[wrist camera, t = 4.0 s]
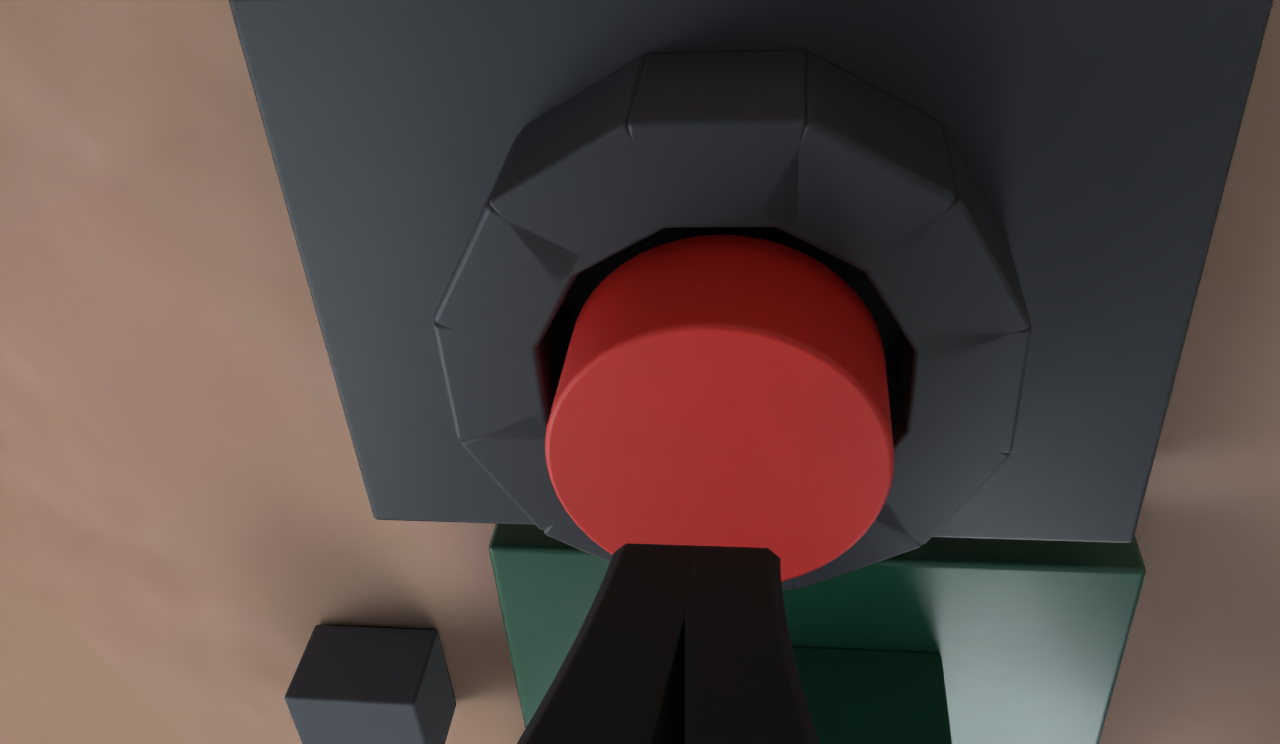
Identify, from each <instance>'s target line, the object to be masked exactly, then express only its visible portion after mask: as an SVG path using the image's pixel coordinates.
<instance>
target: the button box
mask: <svg viewBox="0 0 1280 744" xmlns="http://www.w3.org/2000/svg"><path fill="white" fill-rule="evenodd" d="M1272 2H1273V0H229V3H230V7H231V10H232V14H233V18H234V21H235V25H236V28H237V32H238V35H239V39H240V42H241V46H242V50H243V53H244V57H245V60H246V64H247V67H248V71H249V74H250V78H251V82H252V85H253V89H254V92H255V96H256V99H257V103H258V107H259V110H260V114H261V117H262V121H263V124H264V128H265V131H266V135H267V139H268V142H269V146H270V149H271V153H272V156H273V160H274V163H275V167H276V171H277V174H278V178H279V181H280V185H281V188H282V192H283V195H284V199H285V203H286V206H287V210H288V213H289V217H290V220H291V224H292V228H293V231H294V235H295V238H296V242H297V245H298V249H299V252H300V256H301V260H302V263H303V267H304V270H305V274H306V277H307V281H308V284H309V288H310V292H311V295H312V299H313V302H314V306H315V309H316V313H317V316H318V320H319V324H320V327H321V331H322V334H323V338H324V341H325V345H326V349H327V352H328V356H329V359H330V363H331V366H332V370H333V373H334V377H335V381H336V384H337V388H338V391H339V395H340V398H341V402H342V405H343V409H344V413H345V416H346V420H347V423H348V427H349V430H350V434H351V437H352V441H353V445H354V448H355V452H356V455H357V459H358V462H359V466H360V470H361V473H362V477H363V480H364V484H365V487H366V491H367V494H368V498H369V502H370V505H371V509H372V512H373V516H374V518H375V519H378V520H405V521H437V522H469V523H501V524H533V525H536V526H537V527H538V528H539V529H541V530H544V534H546V535H547V536H549V537H551V538H554V539H556V540H558V541H561V542H563V543H565V544H568V545H570V546H572V547H575V548H577V549H579V550H582V551H584V552H587V553H589V554H591V555H594V556H596V557H598V558H601V559H603V560H605V561H608V562H610V561H611V559H612V556H613V555H612V554H610V553H609V552H607V551H606V550H604V549H603V548H602V547H600V546H599V545H598V544H597V543H595V542H594V541H593V540H591V539H590V538H589V537H588V536H587V535H586V534H585V533H584V532H583V531H582V530H581V529H580V528H579V527H578V526H577V525H576V523H575V522H574V521H573V519H572V518H571V517H570V516H569V514H568V513H567V512H566V510H565V509H564V507H563V505H562V504H561V502H560V500H559V498H558V497H557V494H556V492H555V490H554V487H553V485H552V482H551V480H550V476H549V472H548V468H547V464H546V456H545V436H546V427H547V423H548V420H549V416H550V413H551V409H552V405H553V402H554V398H555V395H556V391H557V387H558V384H559V380H560V377H561V373H562V370H563V366H564V362H565V359H566V355H567V352H568V348H569V345H570V341H571V337H572V334H573V330H574V327H575V323H576V320H577V318H578V316H579V314H580V312H581V310H582V307H583V305H584V304H585V302H586V301H587V299H588V298H589V297H590V295H591V294H592V292H593V291H594V290H595V288H596V287H597V286H598V285H599V284H600V283H601V282H602V281H603V280H604V279H605V278H606V277H607V276H608V275H609V274H610V273H612V272H613V271H614V270H615V269H617V268H618V267H619V266H620V265H622V264H623V263H625V262H627V261H628V260H630V259H632V258H633V257H635V256H637V255H638V254H640V253H642V252H645V251H647V250H649V249H651V248H654V247H656V246H658V245H661V244H665V243H668V242H671V241H675V240H678V239H683V238H689V237H695V236H702V235H719V234H724V235H742V236H749V237H755V238H761V239H766V240H769V241H773V242H776V243H780V244H783V245H786V246H789V247H791V248H793V249H796V250H798V251H800V252H803V253H805V254H807V255H809V256H811V257H812V258H814V259H816V260H817V261H819V262H821V263H823V264H824V265H826V266H827V267H828V268H830V269H831V270H832V271H833V272H835V273H836V274H837V275H839V276H840V277H841V278H842V279H843V280H844V281H845V282H846V283H847V284H848V285H849V286H850V287H851V288H852V289H853V290H854V291H855V292H856V293H857V294H858V296H859V297H860V298H861V300H862V301H863V302H864V304H865V305H866V306H867V308H868V310H869V311H870V313H871V315H872V317H873V319H874V321H875V323H876V325H877V328H878V331H879V333H880V336H881V339H882V344H883V349H884V355H885V363H886V374H887V384H888V395H889V405H890V416H891V426H892V436H893V447H894V472H893V478H892V484H891V488H890V491H889V494H888V496H887V499H886V502H885V504H884V506H883V508H882V510H881V511H880V513H879V515H878V517H877V518H876V520H875V522H874V523H873V524H872V526H871V527H870V528H869V529H868V531H867V532H866V533H865V534H864V536H863V537H861V538H860V539H859V540H858V541H857V542H856V543H855V544H854V545H853V546H852V547H851V548H850V549H848V550H847V551H846V552H844V553H843V554H842V555H840V556H839V557H837V558H836V559H834V560H833V561H831V562H829V563H827V564H825V565H824V566H822V567H820V568H818V569H816V570H813V571H811V572H809V573H806V574H804V575H801V576H798V577H795V578H792V579H788V580H785V581H782V582H781V583H782V590H794V589H796V588H797V589H804V588H806V587H809V586H812V585H815V584H818V583H821V582H823V581H826V580H829V579H832V578H835V577H838V576H840V575H843V574H846V573H849V572H852V571H854V570H857V569H860V568H863V567H866V566H869V565H871V564H874V563H877V562H880V561H883V560H886V559H888V558H891V557H894V556H897V555H900V554H902V553H905V552H908V551H911V550H914V549H917V548H919V547H920V546H921V545H924V544H925V543H926V542H927V541H928V540H929V539H930V538H931V537H951V538H983V539H1015V540H1047V541H1079V542H1111V543H1130V542H1132V541H1133V538H1134V534H1135V530H1136V526H1137V522H1138V519H1139V515H1140V511H1141V507H1142V503H1143V499H1144V495H1145V492H1146V488H1147V484H1148V480H1149V476H1150V472H1151V468H1152V465H1153V461H1154V457H1155V453H1156V449H1157V445H1158V442H1159V438H1160V434H1161V430H1162V426H1163V422H1164V418H1165V415H1166V411H1167V407H1168V403H1169V399H1170V395H1171V391H1172V388H1173V384H1174V380H1175V376H1176V372H1177V368H1178V364H1179V361H1180V357H1181V353H1182V349H1183V345H1184V341H1185V338H1186V334H1187V330H1188V326H1189V322H1190V318H1191V314H1192V311H1193V307H1194V303H1195V299H1196V295H1197V291H1198V287H1199V284H1200V280H1201V276H1202V272H1203V268H1204V264H1205V260H1206V257H1207V253H1208V249H1209V245H1210V241H1211V237H1212V234H1213V230H1214V226H1215V222H1216V218H1217V214H1218V210H1219V207H1220V203H1221V199H1222V195H1223V191H1224V187H1225V183H1226V180H1227V176H1228V172H1229V168H1230V164H1231V160H1232V156H1233V153H1234V149H1235V145H1236V141H1237V137H1238V133H1239V130H1240V126H1241V122H1242V118H1243V114H1244V110H1245V106H1246V103H1247V99H1248V95H1249V91H1250V87H1251V83H1252V79H1253V76H1254V72H1255V68H1256V64H1257V60H1258V56H1259V52H1260V49H1261V45H1262V41H1263V37H1264V33H1265V29H1266V26H1267V22H1268V18H1269V14H1270V10H1271V6H1272Z"/></svg>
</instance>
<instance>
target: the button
mask: <svg viewBox="0 0 1280 744" xmlns="http://www.w3.org/2000/svg"><path fill="white" fill-rule="evenodd" d="M545 456H546V464H547V468H548V472H549V476H550V480H551V482H552V485H553V487H554V490H555V492H556V494H557V497H558V498H559V500H560V502H561V504H562V505H563V507H564V509H565V510H566V512H567V513H568V514H569V516H570V517H571V518H572V519H573V521H574V522H575V523H576V525H577V526H578V527H579V528H580V529H581V530H582V531H583V532H584V533H585V534H586V535H587V536H588V537H589V538H590V539H591V540H593V541H594V542H595V543H597V544H598V545H599V546H600V547H602V548H603V549H604V550H606V551H607V552H609V553H610V554H612V555H613V553H614V552H615V551H616V550H618V549H619V548H620V547H622V546H623V545H624V544H626V543H632V544H662V545H693V546H724V547H755V548H768V549H770V550H771V551H772V552H773V553H774V554H776V555H777V556H778V557H779V558H781V582H782V581H785V580H788V579H792V578H795V577H798V576H801V575H804V574H806V573H809V572H811V571H813V570H816V569H818V568H820V567H822V566H824V565H825V564H827V563H829V562H831V561H833V560H834V559H836V558H837V557H839V556H840V555H842V554H843V553H844V552H846V551H847V550H848V549H850V548H851V547H852V546H853V545H854V544H855V543H856V542H857V541H858V540H859V539H860V538H861V537H863V536H864V534H865V533H866V532H867V531H868V529H869V528H870V527H871V526H872V524H873V523H874V522H875V520H876V518H877V517H878V515H879V513H880V511H881V510H882V508H883V506H884V504H885V502H886V499H887V496H888V494H889V491H890V488H891V484H892V478H893V472H894V447H893V436H892V426H891V416H890V405H889V395H888V384H887V374H886V363H885V355H884V349H883V344H882V339H881V336H880V333H879V331H878V328H877V325H876V323H875V321H874V319H873V317H872V315H871V313H870V311H869V310H868V308H867V306H866V305H865V304H864V302H863V301H862V300H861V298H860V297H859V296H858V294H857V293H856V292H855V291H854V290H853V289H852V288H851V287H850V286H849V285H848V284H847V283H846V282H845V281H844V280H843V279H842V278H841V277H840V276H839V275H837V274H836V273H835V272H833V271H832V270H831V269H830V268H828V267H827V266H826V265H824V264H823V263H821V262H819V261H817V260H816V259H814V258H812V257H811V256H809V255H807V254H805V253H803V252H800V251H798V250H796V249H793V248H791V247H789V246H786V245H783V244H780V243H776V242H773V241H769V240H766V239H761V238H755V237H749V236H742V235H724V234H719V235H702V236H695V237H689V238H683V239H678V240H675V241H671V242H668V243H665V244H661V245H658V246H656V247H654V248H651V249H649V250H647V251H645V252H642V253H640V254H638V255H637V256H635V257H633V258H632V259H630V260H628V261H627V262H625V263H623V264H622V265H620V266H619V267H618V268H617V269H615V270H614V271H613V272H612V273H610V274H609V275H608V276H607V277H606V278H605V279H604V280H603V281H602V282H601V283H600V284H599V285H598V286H597V287H596V288H595V290H594V291H593V292H592V294H591V295H590V297H589V298H588V299H587V301H586V302H585V304H584V305H583V307H582V310H581V312H580V314H579V316H578V318H577V320H576V323H575V327H574V330H573V334H572V337H571V341H570V345H569V348H568V352H567V355H566V359H565V362H564V366H563V370H562V373H561V377H560V380H559V384H558V387H557V391H556V395H555V398H554V402H553V405H552V409H551V413H550V416H549V420H548V423H547V427H546V436H545Z"/></svg>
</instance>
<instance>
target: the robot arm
mask: <svg viewBox="0 0 1280 744" xmlns="http://www.w3.org/2000/svg"><path fill="white" fill-rule="evenodd" d="M517 744H820V743H819V740H818V737H817V734H816V731H815V728H814V725H813V722H812V719H811V715H810V712H809V709H808V705H807V702H806V698H805V695H804V691H803V688H802V684H801V680H800V676H799V672H798V668H797V664H796V660H795V656H794V652H793V648H792V643H791V638H790V634H789V629H788V624H787V618H786V612H785V607H784V600H783V591H782V583H781V558H779V557H778V556H777V555H776V554H774V553H773V552H772V551H771V550H770V549H768V548H755V547H724V546H693V545H662V544H632V543H626V544H624V545H623V546H622V547H620V548H619V549H618V550H616V551H615V552H614V553H613V556H612V559H611V561H610V564H609V566H608V569H607V572H606V574H605V576H604V579H603V581H602V583H601V586H600V588H599V590H598V592H597V595H596V597H595V599H594V601H593V604H592V606H591V608H590V610H589V612H588V614H587V616H586V618H585V621H584V623H583V625H582V627H581V629H580V631H579V633H578V635H577V637H576V639H575V641H574V642H573V644H572V646H571V648H570V650H569V652H568V654H567V656H566V658H565V660H564V662H563V664H562V665H561V667H560V669H559V671H558V673H557V675H556V677H555V679H554V680H553V682H552V684H551V686H550V687H549V689H548V691H547V693H546V694H545V696H544V698H543V700H542V701H541V703H540V705H539V707H538V708H537V710H536V712H535V713H534V715H533V717H532V719H531V720H530V722H529V724H528V726H527V727H526V729H525V731H524V733H523V734H522V736H521V738H520V740H519V741H518V743H517Z"/></svg>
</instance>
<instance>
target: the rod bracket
mask: <svg viewBox="0 0 1280 744" xmlns="http://www.w3.org/2000/svg"><path fill="white" fill-rule="evenodd" d="M489 552H490V557H491V562H492V567H493V572H494V577H495V582H496V587H497V591H498V596H499V601H500V606H501V611H502V616H503V621H504V626H505V631H506V635H507V640H508V645H509V650H510V655H511V660H512V665H513V670H514V675H515V680H516V684H517V689H518V694H519V699H520V704H521V709H522V714H523V719H524V724H525V728H526V727H527V726H528V724H529V722H530V720H531V719H532V717H533V715H534V713H535V712H536V710H537V708H538V707H539V705H540V703H541V701H542V700H543V698H544V696H545V694H546V693H547V691H548V689H549V687H550V686H551V684H552V682H553V680H554V679H555V677H556V675H557V673H558V671H559V669H560V667H561V665H562V664H563V662H564V660H565V658H566V656H567V654H568V652H569V650H570V648H571V646H572V644H573V642H574V641H575V639H576V637H577V635H578V633H579V631H580V629H581V627H582V625H583V623H584V621H585V618H586V616H587V614H588V612H589V610H590V608H591V606H592V604H593V601H594V599H595V597H596V595H597V592H598V590H599V588H600V586H601V583H602V581H603V579H604V576H605V574H606V572H607V569H608V566H609V564H610V562H608V561H605V560H603V559H601V558H598V557H596V556H594V555H591V554H589V553H587V552H584V551H582V550H579V549H577V548H575V547H572V546H570V545H568V544H565V543H563V542H561V541H558V540H556V539H554V538H551V537H549V536H547V535H546V534H544V530H541V529H539V528H538V527H537V526H536V525H533V524H501V523H496V526H495V529H494V532H493V535H492V539H491V542H490V545H489ZM1145 573H1146V569H1145V566H1144V563H1143V559H1142V556H1141V553H1140V550H1139V547H1138V544H1137V541H1136V538H1135V535H1134V538H1133V541H1132V542H1130V543H1111V542H1079V541H1047V540H1015V539H983V538H951V537H931V538H930V539H929V540H928V541H927V542H926V543H925V544H924V545H921V546H920V547H919V548H917V549H914V550H911V551H908V552H905V553H902V554H900V555H897V556H894V557H891V558H888V559H886V560H883V561H880V562H877V563H874V564H871V565H869V566H866V567H863V568H860V569H857V570H854V571H852V572H849V573H846V574H843V575H840V576H838V577H835V578H832V579H829V580H826V581H823V582H821V583H818V584H815V585H812V586H809V587H806V588H804V589H797V588H796V589H794V590H782V591H783V600H784V607H785V612H786V618H787V624H788V629H789V634H790V638H791V643H792V648H793V652H794V656H795V660H796V664H797V668H798V672H799V676H800V680H801V684H802V688H803V691H804V695H805V698H806V702H807V705H808V709H809V712H810V715H811V719H812V722H813V725H814V728H815V731H816V734H817V737H818V740H819V743H820V744H1098V743H1099V740H1100V736H1101V733H1102V729H1103V725H1104V722H1105V718H1106V714H1107V711H1108V707H1109V703H1110V700H1111V696H1112V693H1113V689H1114V685H1115V682H1116V678H1117V674H1118V671H1119V667H1120V663H1121V660H1122V656H1123V653H1124V649H1125V645H1126V642H1127V638H1128V634H1129V631H1130V627H1131V624H1132V620H1133V616H1134V613H1135V609H1136V605H1137V602H1138V598H1139V594H1140V591H1141V587H1142V584H1143V580H1144V576H1145Z"/></svg>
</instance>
